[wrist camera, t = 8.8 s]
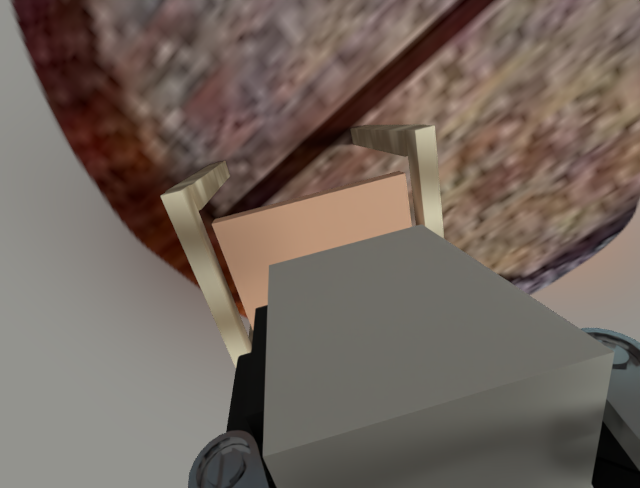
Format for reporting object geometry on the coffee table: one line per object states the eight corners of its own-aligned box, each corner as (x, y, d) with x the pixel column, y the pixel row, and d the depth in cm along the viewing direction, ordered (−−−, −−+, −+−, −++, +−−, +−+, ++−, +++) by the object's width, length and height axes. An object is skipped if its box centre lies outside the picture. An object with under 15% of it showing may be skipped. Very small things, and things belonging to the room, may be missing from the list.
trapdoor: (214, 219, 19) (210, 225, 18) (398, 171, 20) (407, 174, 18) (270, 364, 24) (269, 377, 22) (418, 322, 24) (426, 332, 23)
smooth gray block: (269, 265, 10) (262, 456, 4) (421, 224, 10) (615, 351, 4) (307, 382, 11) (339, 622, 6) (434, 346, 12) (580, 544, 6)
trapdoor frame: (209, 164, 32) (156, 196, 17) (365, 125, 32) (437, 124, 18) (258, 299, 38) (249, 405, 24) (387, 263, 39) (455, 344, 24)
